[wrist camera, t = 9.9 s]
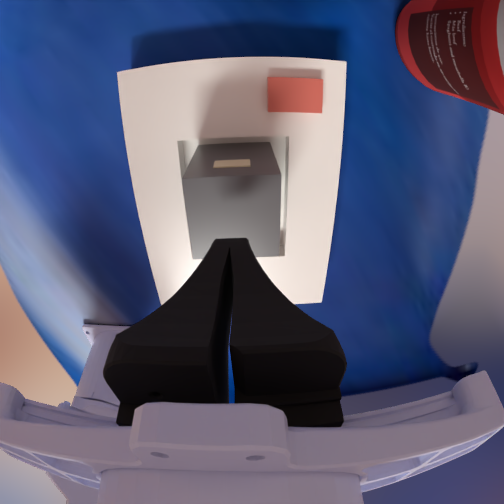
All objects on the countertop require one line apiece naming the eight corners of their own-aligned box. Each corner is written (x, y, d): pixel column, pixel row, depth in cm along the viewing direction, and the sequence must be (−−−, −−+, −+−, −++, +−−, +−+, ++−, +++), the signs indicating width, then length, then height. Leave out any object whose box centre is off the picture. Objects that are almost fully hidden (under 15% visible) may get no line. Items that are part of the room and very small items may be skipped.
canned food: (485, 42, 14) (592, 66, 5) (447, 112, 18) (554, 166, 9) (418, -24, 12) (526, -47, 3) (373, 49, 16) (484, 55, 7)
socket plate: (315, 282, 27) (322, 307, 24) (167, 287, 26) (160, 312, 24) (334, 61, 16) (349, 61, 14) (131, 70, 16) (113, 72, 14)
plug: (269, 230, 22) (278, 285, 17) (207, 232, 22) (198, 288, 17) (269, 140, 18) (281, 172, 14) (198, 144, 18) (181, 177, 13)
